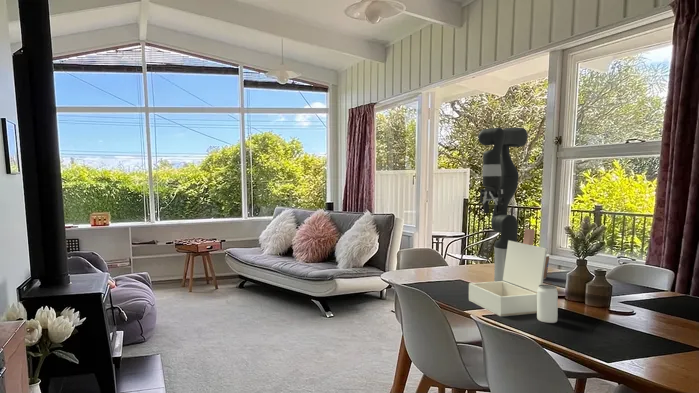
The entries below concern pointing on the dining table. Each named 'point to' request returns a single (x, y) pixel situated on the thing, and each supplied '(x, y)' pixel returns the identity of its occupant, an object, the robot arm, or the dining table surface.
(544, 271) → the coffee cup
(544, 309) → the can
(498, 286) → the box
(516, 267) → the mailer lid
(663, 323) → the dining table surface
